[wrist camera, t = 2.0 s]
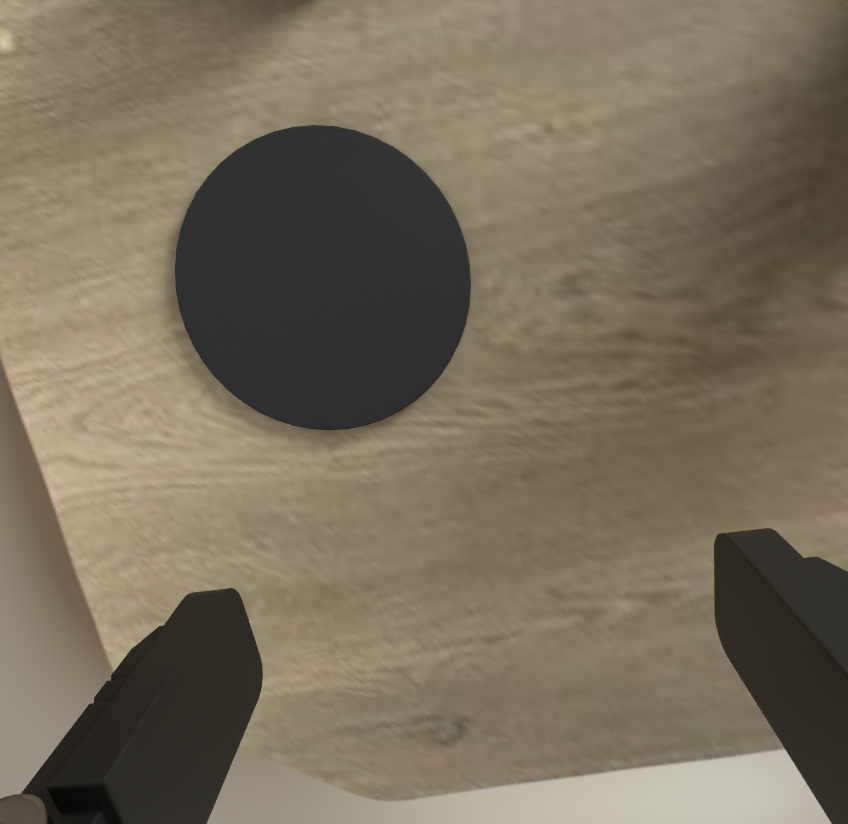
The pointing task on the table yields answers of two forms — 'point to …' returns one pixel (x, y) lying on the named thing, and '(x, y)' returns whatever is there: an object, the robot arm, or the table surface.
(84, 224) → the table surface
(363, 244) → the mat
